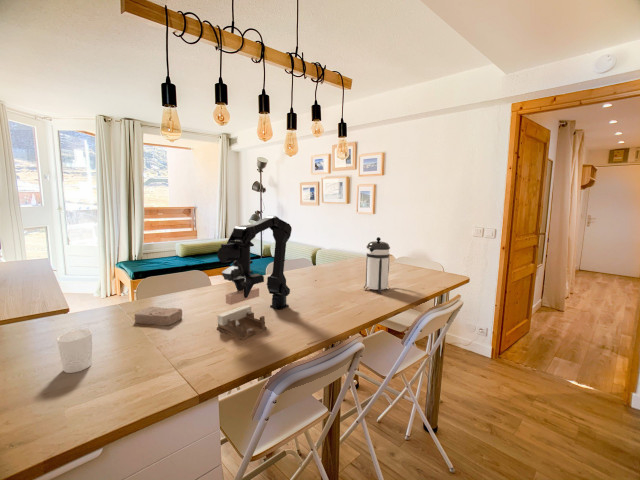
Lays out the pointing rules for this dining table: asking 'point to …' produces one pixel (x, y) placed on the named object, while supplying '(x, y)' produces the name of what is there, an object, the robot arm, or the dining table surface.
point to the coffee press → (377, 265)
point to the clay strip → (241, 296)
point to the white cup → (75, 350)
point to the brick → (158, 315)
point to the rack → (243, 326)
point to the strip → (233, 314)
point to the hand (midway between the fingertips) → (243, 296)
